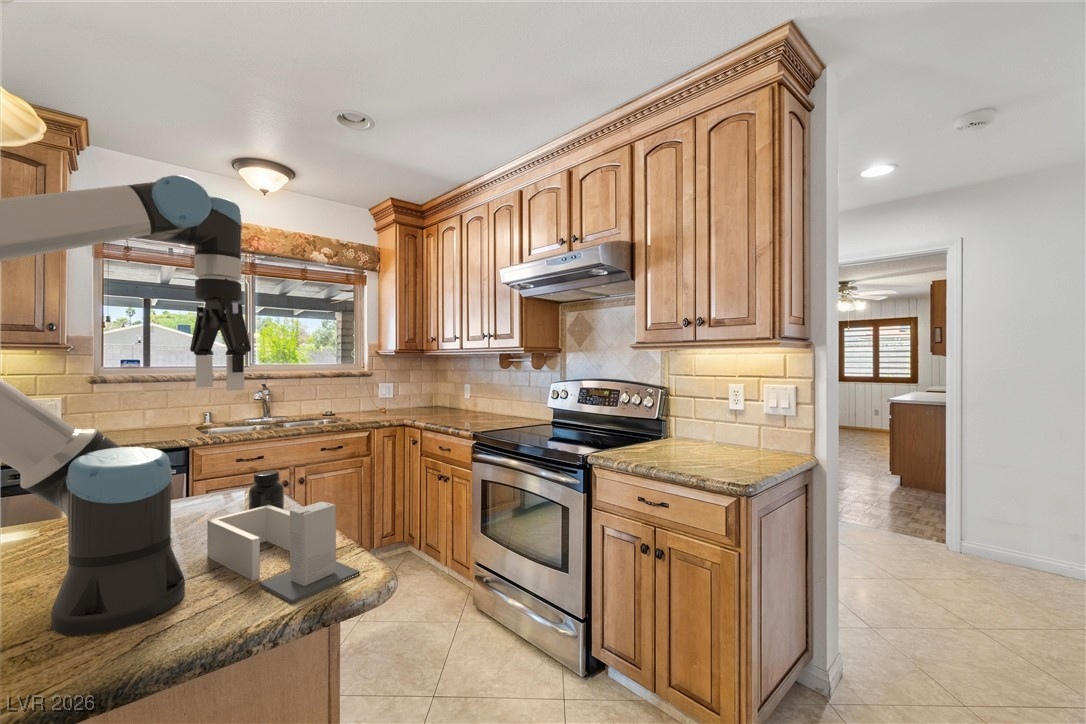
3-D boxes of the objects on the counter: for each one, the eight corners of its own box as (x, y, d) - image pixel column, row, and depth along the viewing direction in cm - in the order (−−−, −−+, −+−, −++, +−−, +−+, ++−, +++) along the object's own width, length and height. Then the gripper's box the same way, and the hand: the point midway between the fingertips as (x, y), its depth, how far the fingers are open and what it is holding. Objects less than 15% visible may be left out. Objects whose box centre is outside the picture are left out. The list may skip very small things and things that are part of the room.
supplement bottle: (245, 525, 108) (245, 472, 108) (279, 518, 112) (279, 467, 112) (252, 534, 103) (252, 478, 103) (287, 526, 107) (287, 473, 107)
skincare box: (321, 567, 85) (321, 499, 85) (337, 573, 83) (337, 504, 83) (287, 581, 80) (287, 509, 80) (304, 588, 78) (304, 514, 77)
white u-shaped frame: (252, 580, 81) (252, 539, 81) (207, 556, 91) (207, 520, 91) (316, 557, 91) (315, 520, 91) (269, 538, 100) (269, 504, 100)
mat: (292, 603, 74) (292, 599, 74) (259, 586, 80) (259, 582, 80) (359, 574, 84) (359, 571, 84) (326, 560, 90) (326, 557, 89)
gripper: (271, 277, 90) (271, 390, 90) (212, 287, 104) (212, 385, 104) (226, 271, 83) (227, 392, 84) (170, 282, 97) (171, 387, 98)
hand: (219, 388), depth 94 cm, fingers open, 13 cm apart
